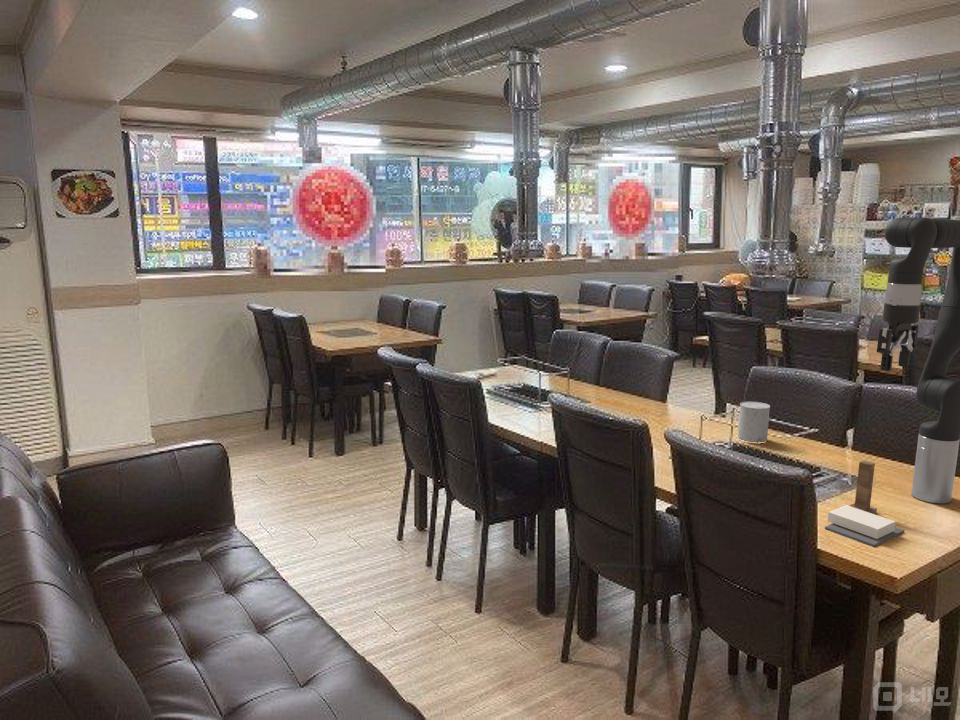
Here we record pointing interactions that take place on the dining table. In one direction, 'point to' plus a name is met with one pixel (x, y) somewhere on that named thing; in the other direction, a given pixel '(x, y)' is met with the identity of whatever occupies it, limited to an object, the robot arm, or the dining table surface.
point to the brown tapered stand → (864, 487)
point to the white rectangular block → (861, 521)
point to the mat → (863, 537)
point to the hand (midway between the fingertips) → (894, 368)
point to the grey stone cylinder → (753, 421)
